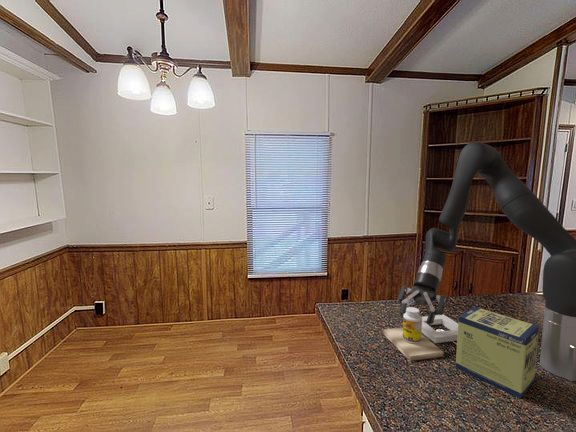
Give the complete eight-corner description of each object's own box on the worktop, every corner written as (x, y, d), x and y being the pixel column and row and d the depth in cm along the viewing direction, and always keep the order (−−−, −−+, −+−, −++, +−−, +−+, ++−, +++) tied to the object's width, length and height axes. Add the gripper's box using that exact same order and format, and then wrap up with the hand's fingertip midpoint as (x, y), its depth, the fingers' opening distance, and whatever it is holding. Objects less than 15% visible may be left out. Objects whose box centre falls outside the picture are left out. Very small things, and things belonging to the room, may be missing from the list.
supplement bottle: (398, 336, 97) (399, 307, 95) (412, 334, 98) (413, 304, 97) (410, 345, 91) (411, 314, 90) (425, 342, 93) (426, 311, 92)
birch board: (443, 356, 88) (443, 351, 88) (410, 360, 86) (410, 356, 86) (411, 330, 104) (411, 326, 103) (383, 333, 102) (383, 329, 102)
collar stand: (472, 338, 98) (472, 332, 98) (435, 343, 95) (435, 337, 95) (443, 319, 111) (443, 314, 111) (409, 323, 109) (410, 317, 109)
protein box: (522, 400, 70) (527, 339, 68) (454, 367, 83) (457, 315, 81) (535, 382, 76) (540, 325, 75) (470, 354, 89) (473, 305, 87)
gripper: (405, 267, 105) (390, 308, 98) (449, 276, 95) (435, 321, 88) (410, 278, 109) (396, 317, 103) (453, 287, 100) (440, 331, 93)
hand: (414, 319), depth 96 cm, fingers open, 8 cm apart
